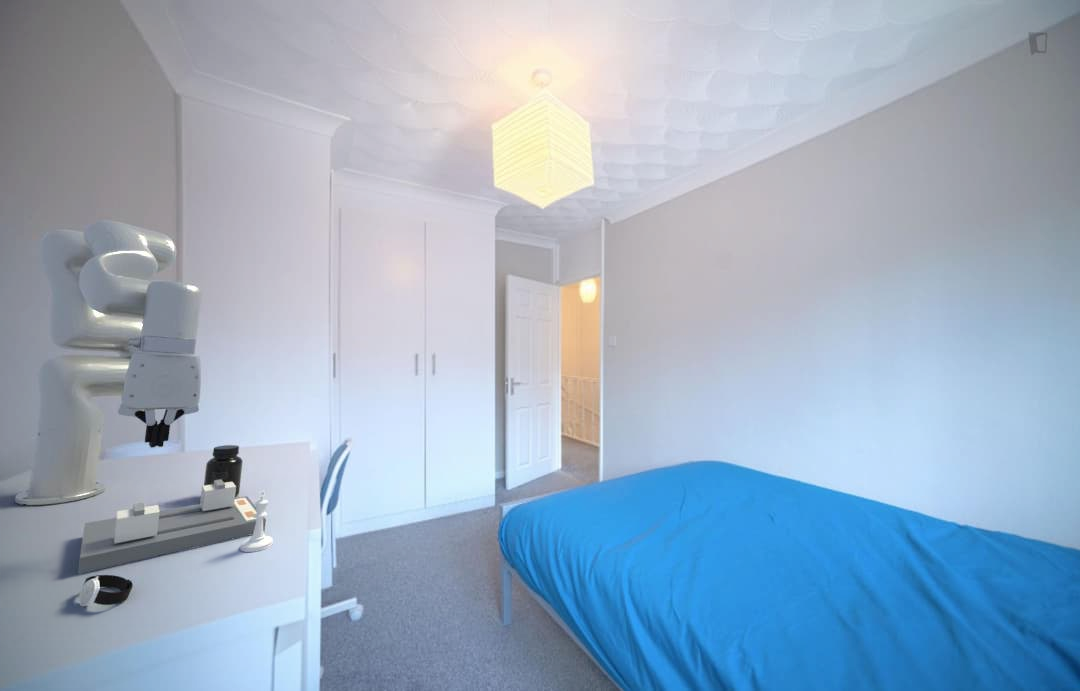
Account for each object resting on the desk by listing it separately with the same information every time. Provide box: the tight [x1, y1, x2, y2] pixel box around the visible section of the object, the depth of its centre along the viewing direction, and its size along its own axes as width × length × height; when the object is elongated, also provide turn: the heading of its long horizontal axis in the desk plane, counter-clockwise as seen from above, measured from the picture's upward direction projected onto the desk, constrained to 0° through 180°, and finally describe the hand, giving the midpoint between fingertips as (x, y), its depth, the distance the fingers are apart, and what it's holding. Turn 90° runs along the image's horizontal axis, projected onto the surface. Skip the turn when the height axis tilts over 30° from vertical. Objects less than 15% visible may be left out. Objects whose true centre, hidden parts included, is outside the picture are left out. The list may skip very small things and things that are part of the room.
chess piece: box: [239, 490, 274, 553], centre depth 72 cm, size 5×5×10 cm
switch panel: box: [77, 495, 267, 575], centre depth 73 cm, size 16×24×3 cm, turn 138°
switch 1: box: [114, 502, 161, 544], centre depth 66 cm, size 4×5×5 cm
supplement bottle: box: [203, 444, 243, 498], centre depth 92 cm, size 7×7×12 cm
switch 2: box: [199, 479, 236, 511], centre depth 81 cm, size 4×5×5 cm
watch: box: [78, 574, 134, 607], centre depth 54 cm, size 8×5×4 cm, turn 67°
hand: (155, 445), depth 71 cm, fingers closed
